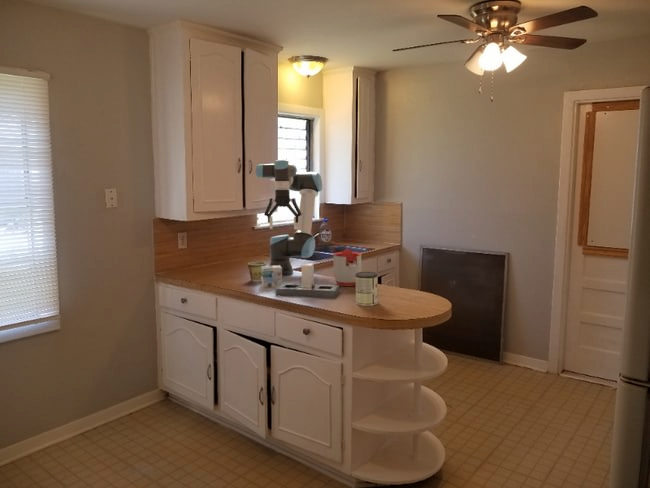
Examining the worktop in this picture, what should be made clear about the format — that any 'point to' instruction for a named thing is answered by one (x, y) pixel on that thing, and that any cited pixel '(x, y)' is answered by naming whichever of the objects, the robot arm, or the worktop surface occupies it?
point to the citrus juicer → (346, 267)
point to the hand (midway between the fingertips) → (283, 228)
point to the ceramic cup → (255, 270)
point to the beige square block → (307, 276)
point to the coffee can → (366, 288)
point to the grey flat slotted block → (308, 290)
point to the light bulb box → (271, 276)
